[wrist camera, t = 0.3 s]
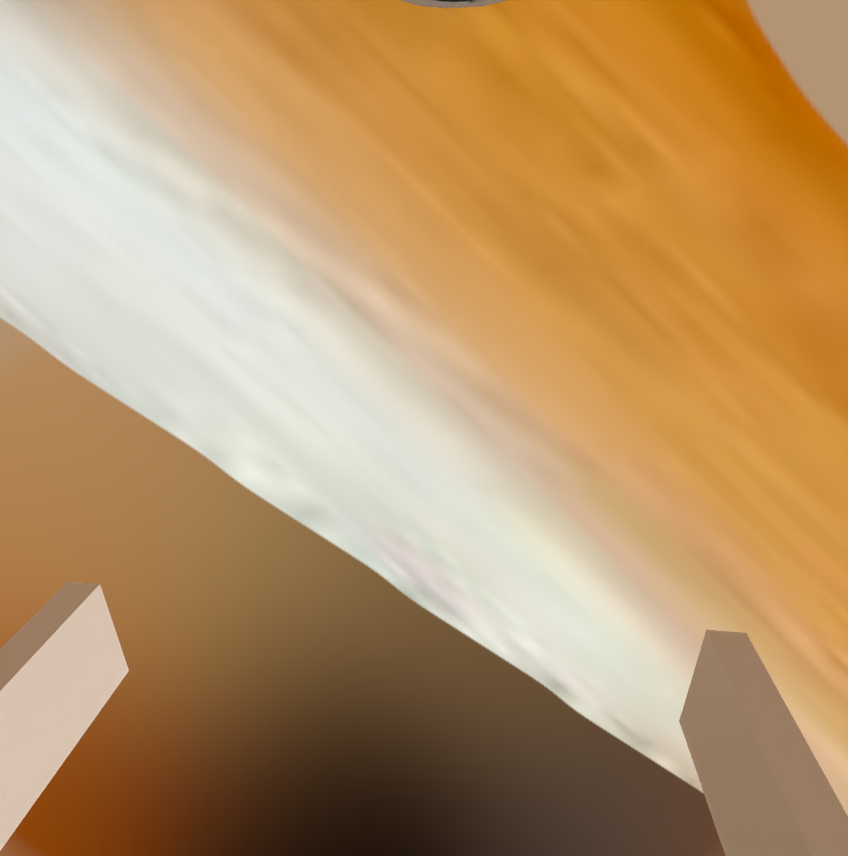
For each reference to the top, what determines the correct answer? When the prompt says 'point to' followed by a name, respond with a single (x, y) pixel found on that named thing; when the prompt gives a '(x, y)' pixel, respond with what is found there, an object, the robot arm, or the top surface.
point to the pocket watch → (453, 3)
